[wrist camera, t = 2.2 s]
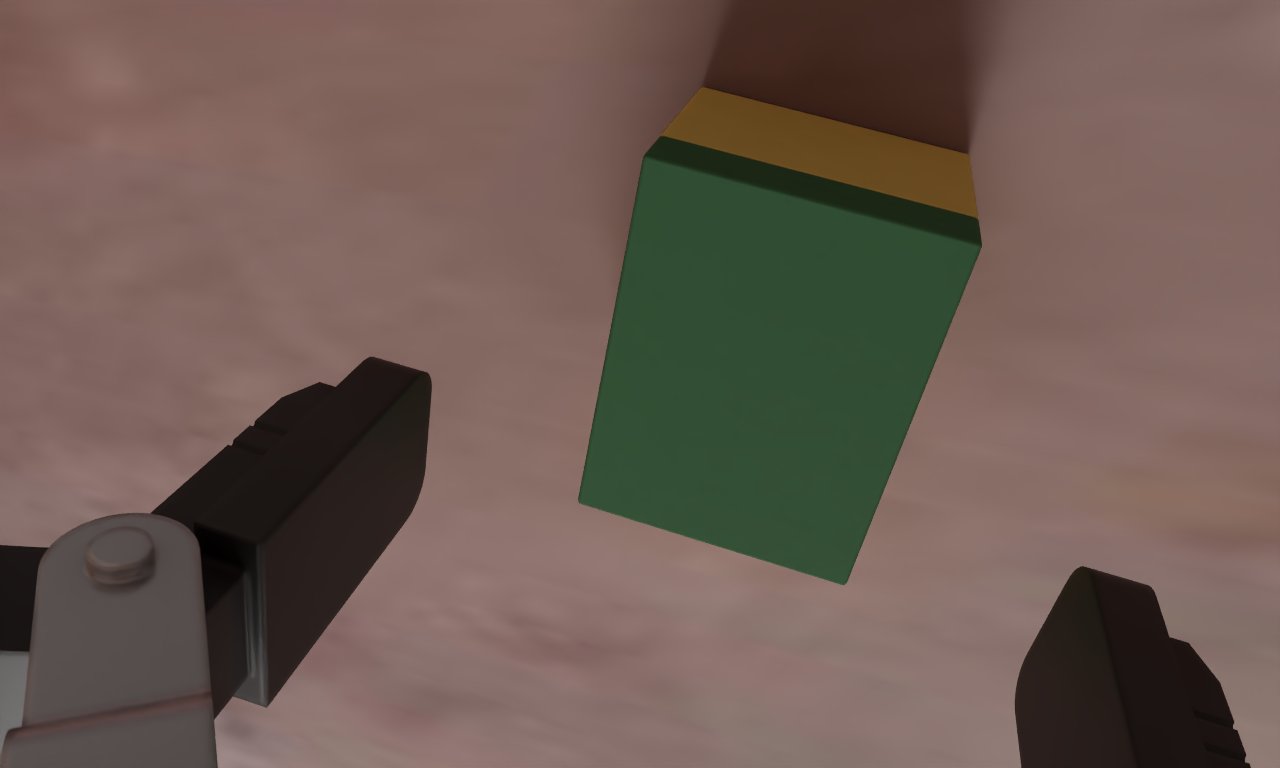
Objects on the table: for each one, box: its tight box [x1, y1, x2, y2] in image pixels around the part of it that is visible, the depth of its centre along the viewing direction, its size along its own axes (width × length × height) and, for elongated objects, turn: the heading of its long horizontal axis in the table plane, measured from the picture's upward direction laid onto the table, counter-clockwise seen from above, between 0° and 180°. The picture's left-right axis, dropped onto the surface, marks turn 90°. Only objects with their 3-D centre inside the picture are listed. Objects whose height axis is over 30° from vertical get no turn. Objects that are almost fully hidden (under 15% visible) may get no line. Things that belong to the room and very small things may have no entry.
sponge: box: [578, 87, 982, 585], centre depth 16 cm, size 6×4×4 cm
